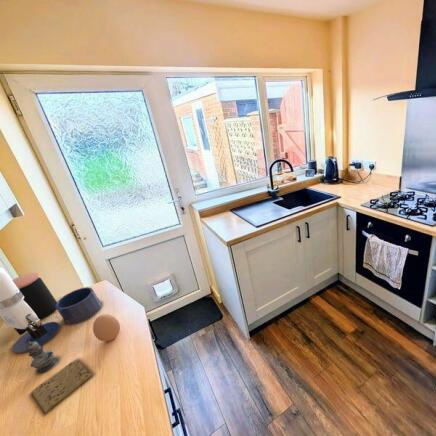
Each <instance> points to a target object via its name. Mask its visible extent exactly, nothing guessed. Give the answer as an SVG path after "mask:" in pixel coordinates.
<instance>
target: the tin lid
mask: <svg viewBox="0 0 436 436" xmlns="http://www.w3.org/2000/svg"><path fill="white" fill-rule="evenodd" d="M42 324H43V326H44V328H45V329H46V330H47V333H46V334H44V335H43V336H42V337H40V338H39V339H38V338H36V336H35V335H34V334H33V333H32V331H33V330H31V329H30V328H29V327H26V332H25V333H24V334H22V335H20V337H19V338H18V339H16V341H15V342H14V344H13V345H12V351H13V352H14V353H15V354H24V353H28V352H27V350H26V349H25V347H26V345H27V344H28V342H33V341H36V342H37V343H38V344H39V345H40V346H43V345H44V344H45V343H47V342H49V341H50V340H51V339H52V338H53V337H54V336H56V334H57V333H58V332H59V330H60V326H61V325H60V324H59V322H57V321H50V322H45V323H42ZM34 325H35V324H34V323H33V324H32V325H31V326H33V327H34Z"/></svg>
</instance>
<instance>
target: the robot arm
mask: <svg viewBox="0 0 436 436" xmlns="http://www.w3.org/2000/svg"><path fill="white" fill-rule="evenodd" d="M12 280H13V279H12V278H11V277H10V275H9V274H8V273H7V271H6V270H5V268H3V267H0V318H1V319H2V321H3V322H4V323H5V325H6V326H7V327H9V328H13V329H14V330H15V331H16V333H17V334H18V335H19V336H23V335H24V334H25V333H27V331H26V327H29V328H30V329H31V330H33V331H32V333H33V334H34V335H35V336H36V338H38V339H39V338H40V337H42V336H43V335H44V334H46V333H47V330H46V329H45V328H44V326H43V324H44V323H43V322H42V321H41V320H39V319H38V317H37V315H36V314H35V313H34V311H33V310H32V309H31V308H30V307H29V305H28V304H27V303H26V302H25V301H24V300H23V299H24V296H23V294H22V293H21V292H20V290H19V289H18V288H17V286H16V285H15V284H14V282H13V281H12ZM32 324H33V325H34V327H33V326H31V325H32Z"/></svg>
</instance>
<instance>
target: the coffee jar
mask: <svg viewBox="0 0 436 436" xmlns="http://www.w3.org/2000/svg"><path fill="white" fill-rule="evenodd" d="M12 281H13V282H14V284H15V285H16V286H17V288H18V289H19V290H20V292H21V293H22V294H23V296H24V299H23V300H24V301H25V302H26V303H27V304H28V305H29V307H30V308H31V309H32V310H33V311H34V313H35V314H36V315H37V317H38V319H39V320H40V321H41V320H43V319H46V318H47V317H49V316H51V315H52V314H53V313H54V312H56V311H57V309H56V307H55V305H56V303H57V302H58V300H56V298H55V297H54V295H53V294H52V293H51V291H50V289H49V288H48V286H47V285H46V283H45V282H44V280H43V279H42V277H40V276H39V273H38V272H29V273H26V274H23V275H21V276H18V277H15V278H14V279H12Z"/></svg>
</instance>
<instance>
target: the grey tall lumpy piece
mask: <svg viewBox="0 0 436 436" xmlns="http://www.w3.org/2000/svg"><path fill="white" fill-rule="evenodd" d="M25 349H26V350H27V352H26V353H28V357H31V359H33V360H32V361H31V363H30V368H33V369H36V370H37V371H36V372H37V374H43V373H46V372H48V371H50V370H51V369H52V368H54V366H56V365H57V363H58V358H55V357H54V356H55V355H54V351H53V350H48V351H46V350H44V346H43V345H41V346H40V345H39V344H38V343H37V342H36V341H33V342H28V344H27V345H26V347H25Z"/></svg>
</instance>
